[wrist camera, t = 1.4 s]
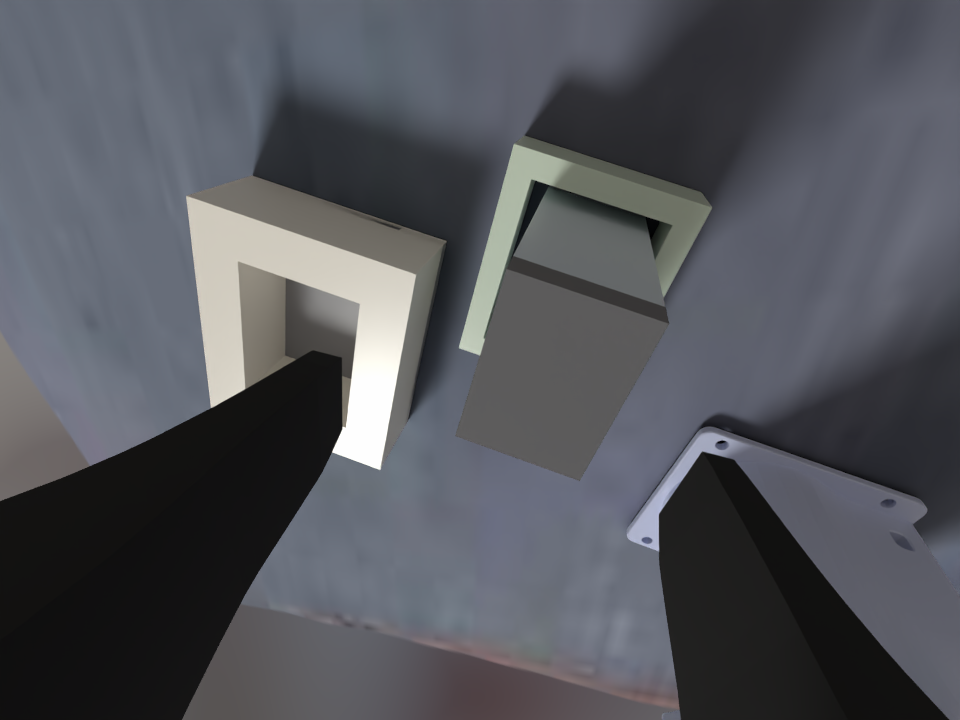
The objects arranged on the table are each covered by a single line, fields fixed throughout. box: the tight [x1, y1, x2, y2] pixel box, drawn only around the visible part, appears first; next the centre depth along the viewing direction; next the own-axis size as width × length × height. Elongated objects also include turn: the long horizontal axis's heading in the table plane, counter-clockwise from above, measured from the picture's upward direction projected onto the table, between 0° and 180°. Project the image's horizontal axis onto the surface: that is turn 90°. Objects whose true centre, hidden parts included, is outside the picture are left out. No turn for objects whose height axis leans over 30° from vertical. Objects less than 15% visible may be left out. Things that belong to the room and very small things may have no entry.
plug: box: [455, 186, 669, 481], centre depth 14 cm, size 4×5×8 cm
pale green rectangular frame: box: [459, 136, 712, 355], centre depth 17 cm, size 6×8×2 cm
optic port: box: [186, 176, 447, 470], centre depth 20 cm, size 8×10×4 cm
